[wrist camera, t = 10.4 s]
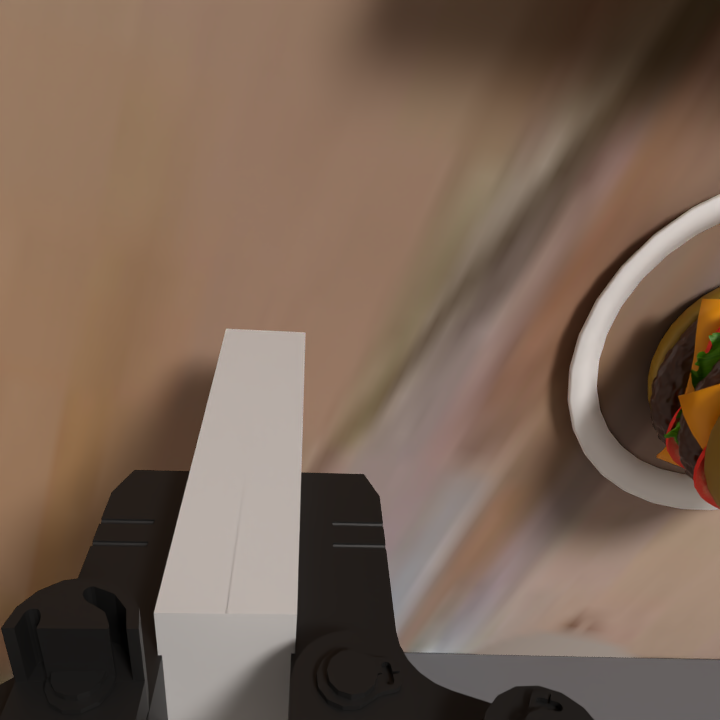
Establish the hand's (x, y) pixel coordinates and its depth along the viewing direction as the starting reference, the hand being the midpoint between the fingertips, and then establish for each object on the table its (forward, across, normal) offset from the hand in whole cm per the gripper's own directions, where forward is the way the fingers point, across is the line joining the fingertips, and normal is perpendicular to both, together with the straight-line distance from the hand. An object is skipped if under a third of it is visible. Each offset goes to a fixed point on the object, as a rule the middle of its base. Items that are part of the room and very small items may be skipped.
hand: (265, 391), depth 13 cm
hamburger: (+3, +11, 0) cm, 12 cm away
